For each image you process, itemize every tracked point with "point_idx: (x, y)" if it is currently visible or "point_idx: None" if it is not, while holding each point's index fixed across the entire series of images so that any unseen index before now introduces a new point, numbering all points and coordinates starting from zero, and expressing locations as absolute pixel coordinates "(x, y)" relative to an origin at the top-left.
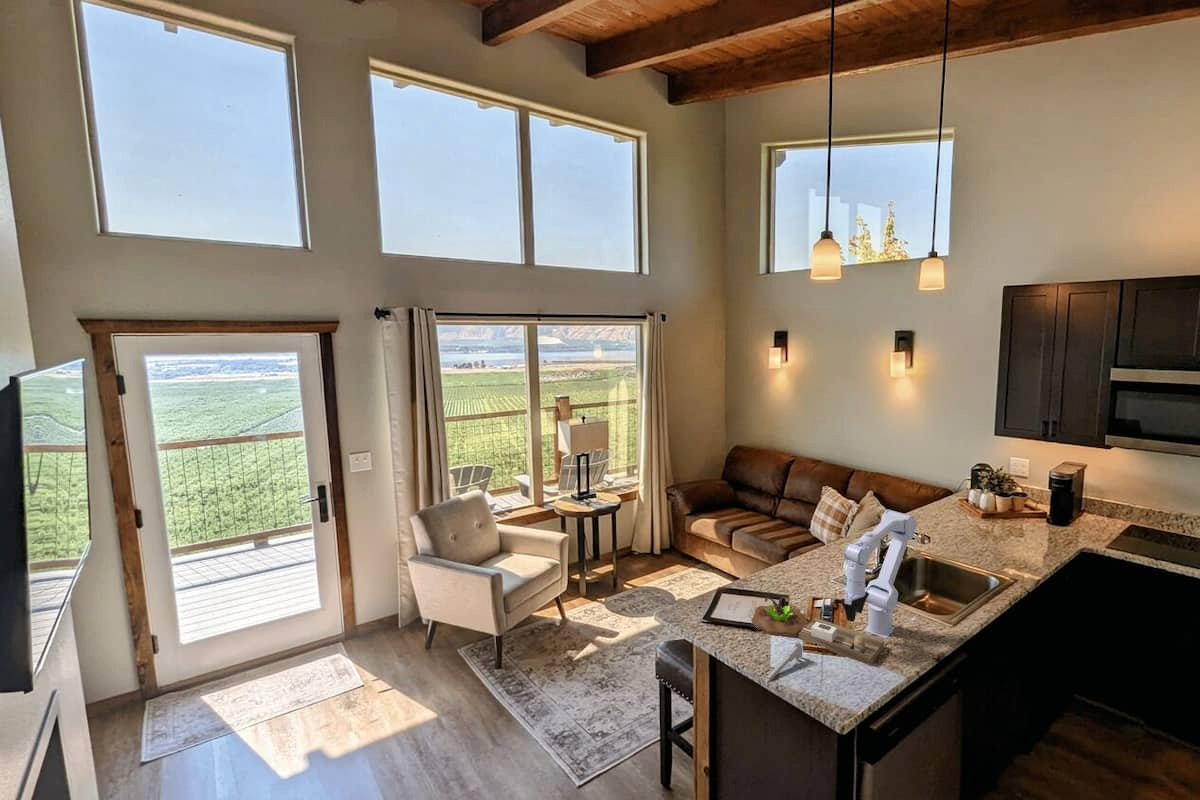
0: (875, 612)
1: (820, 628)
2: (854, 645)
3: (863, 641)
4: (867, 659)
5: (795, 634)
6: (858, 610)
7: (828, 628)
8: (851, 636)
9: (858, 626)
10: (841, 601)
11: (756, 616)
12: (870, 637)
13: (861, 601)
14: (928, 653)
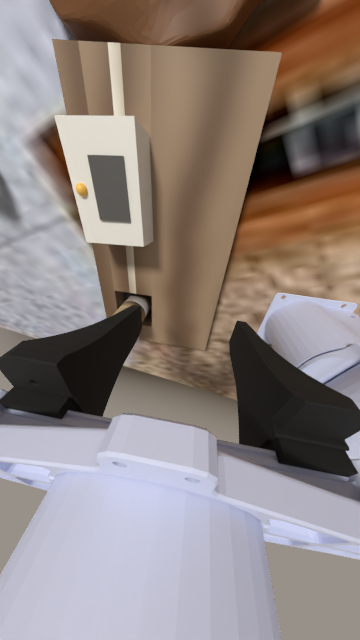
0: (294, 364)
1: (86, 175)
2: (123, 303)
3: None
4: None
5: (61, 19)
6: (233, 339)
7: (110, 215)
8: (180, 283)
9: (299, 275)
10: (6, 353)
11: None
12: (203, 325)
13: (243, 392)
14: (223, 390)
